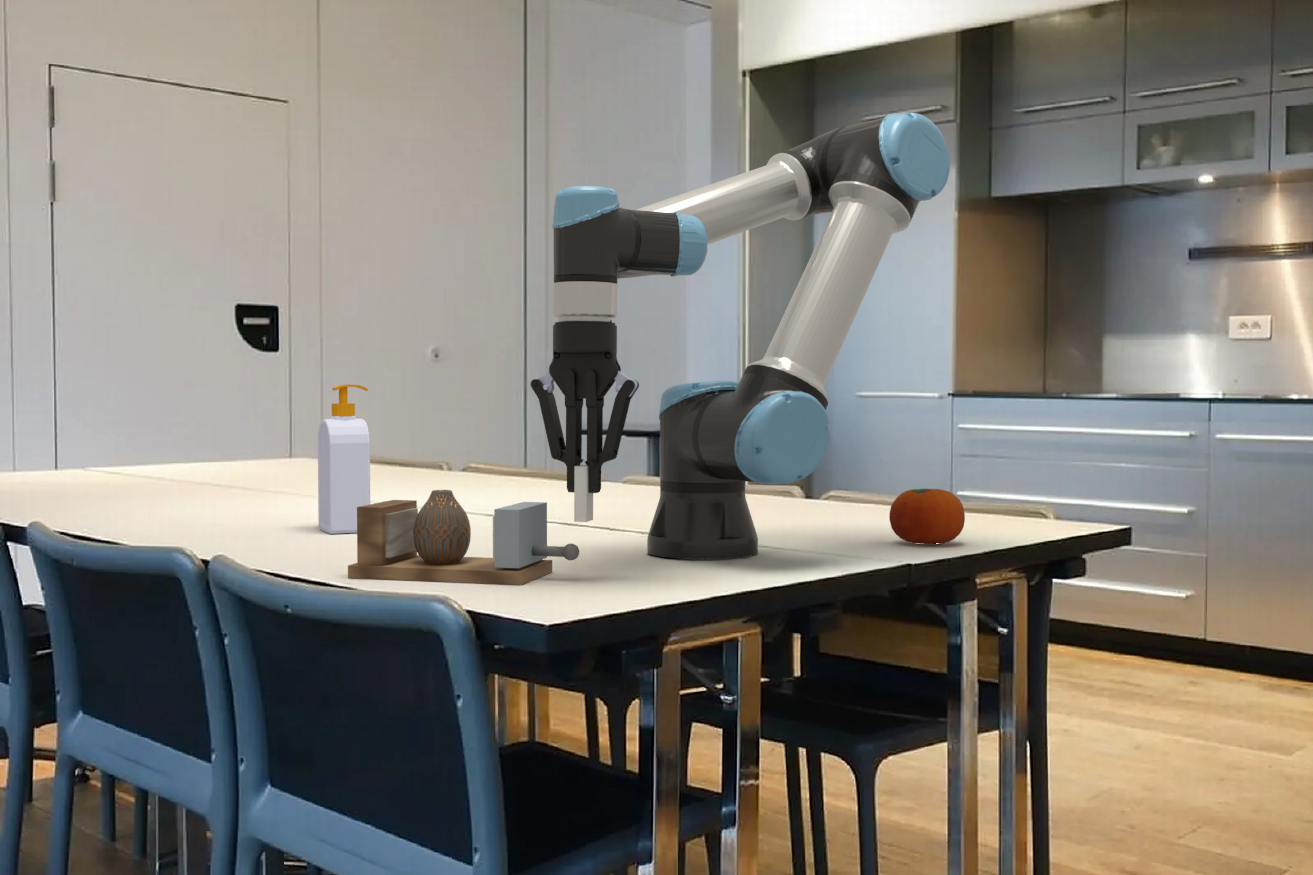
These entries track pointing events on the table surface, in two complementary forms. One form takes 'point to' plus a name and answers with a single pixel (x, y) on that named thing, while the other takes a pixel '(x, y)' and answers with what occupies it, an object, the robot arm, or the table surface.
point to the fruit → (927, 516)
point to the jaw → (524, 536)
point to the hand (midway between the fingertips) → (583, 520)
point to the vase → (441, 529)
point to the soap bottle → (342, 467)
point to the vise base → (395, 556)
